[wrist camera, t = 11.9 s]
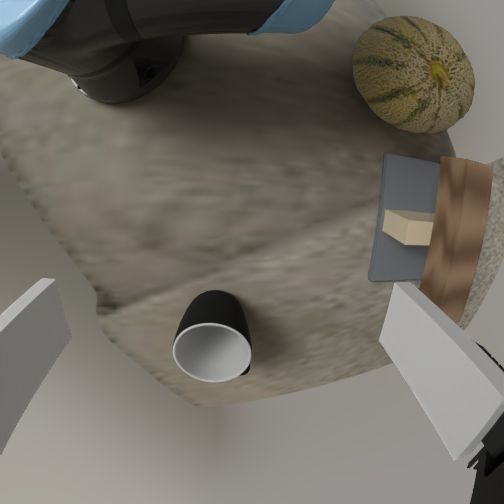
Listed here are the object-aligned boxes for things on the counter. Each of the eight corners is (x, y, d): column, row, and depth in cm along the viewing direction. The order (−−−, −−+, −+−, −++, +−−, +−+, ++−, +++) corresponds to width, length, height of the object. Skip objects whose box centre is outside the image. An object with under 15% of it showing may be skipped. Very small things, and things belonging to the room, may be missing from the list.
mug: (171, 301, 40) (156, 345, 30) (223, 269, 38) (220, 308, 29) (221, 356, 43) (220, 404, 34) (270, 330, 42) (280, 377, 33)
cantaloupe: (431, 63, 29) (500, 45, 15) (418, 149, 34) (494, 159, 20) (344, 20, 28) (396, -30, 13) (324, 112, 32) (381, 93, 18)
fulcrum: (383, 152, 34) (412, 155, 28) (455, 167, 35) (486, 174, 29) (367, 278, 40) (389, 301, 34) (437, 275, 41) (461, 294, 35)
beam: (440, 155, 28) (467, 159, 23) (467, 162, 28) (493, 167, 23) (414, 306, 34) (433, 326, 30) (440, 303, 35) (459, 321, 30)
